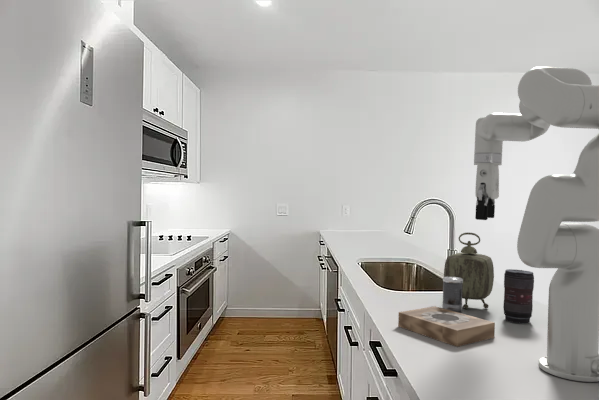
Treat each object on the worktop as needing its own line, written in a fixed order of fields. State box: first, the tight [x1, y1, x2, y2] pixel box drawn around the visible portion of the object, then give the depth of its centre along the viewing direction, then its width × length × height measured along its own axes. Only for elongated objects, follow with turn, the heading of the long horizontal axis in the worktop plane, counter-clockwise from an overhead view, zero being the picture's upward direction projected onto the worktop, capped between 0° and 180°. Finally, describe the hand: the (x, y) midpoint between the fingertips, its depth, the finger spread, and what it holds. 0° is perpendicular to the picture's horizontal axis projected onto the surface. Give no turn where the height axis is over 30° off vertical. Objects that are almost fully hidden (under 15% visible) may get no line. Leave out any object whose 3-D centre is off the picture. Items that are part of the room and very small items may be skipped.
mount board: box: [397, 305, 496, 348], centre depth 128 cm, size 20×15×4 cm
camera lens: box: [503, 268, 535, 325], centre depth 141 cm, size 8×8×15 cm
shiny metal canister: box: [441, 276, 463, 314], centre depth 143 cm, size 6×6×12 cm
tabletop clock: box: [443, 232, 495, 310], centre depth 156 cm, size 14×9×25 cm, turn 57°
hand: (485, 218), depth 138 cm, fingers open, 9 cm apart
